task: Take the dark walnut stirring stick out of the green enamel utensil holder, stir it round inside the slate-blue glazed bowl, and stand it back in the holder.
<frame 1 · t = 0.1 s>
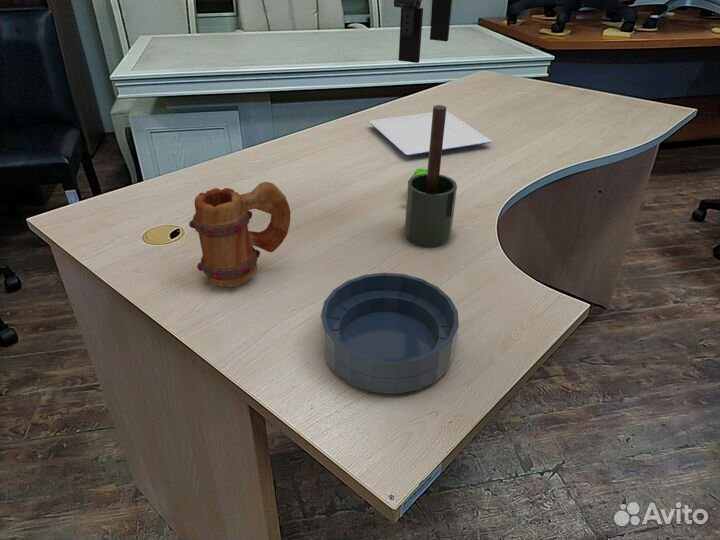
hand: (424, 50, 76), 31 cm above the table, tool pointing down, fingers open, 13 cm apart
plate: (427, 138, 130), on the table
holder: (427, 235, 93), on the table
bowl: (387, 347, 70), on the table
stick: (427, 231, 93), point 1 cm above the table, touching holder
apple: (421, 200, 104), on the table
mug: (248, 275, 83), on the table
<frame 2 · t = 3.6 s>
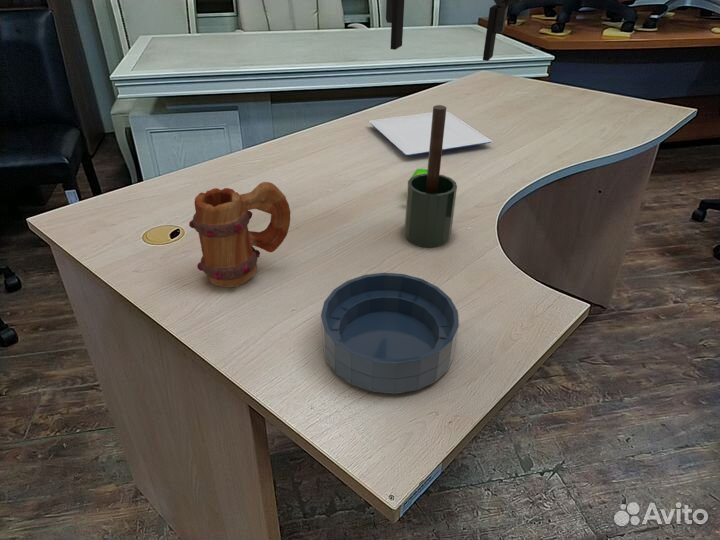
hand: (440, 53, 75), 31 cm above the table, tool pointing down, fingers open, 13 cm apart
nothing on the table moved.
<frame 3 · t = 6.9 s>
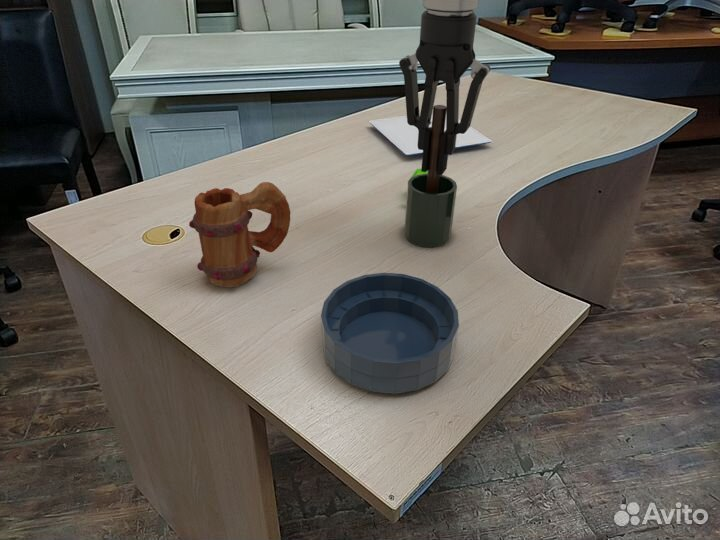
hand: (433, 169, 86), 13 cm above the table, tool pointing down, fingers closed on stick, 2 cm apart
stick: (428, 231, 92), point 1 cm above the table, touching gripper
everything else where it was.
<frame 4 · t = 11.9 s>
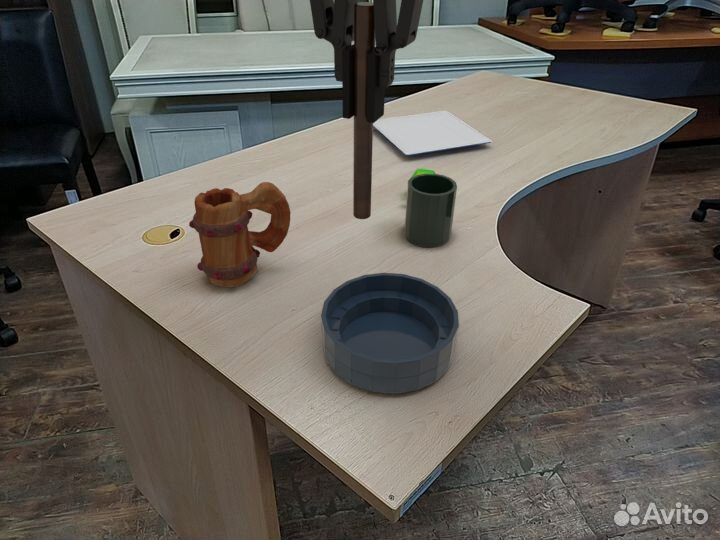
hand: (363, 115, 54), 31 cm above the table, tool pointing down, fingers closed on stick, 2 cm apart
stick: (361, 215, 61), point 19 cm above the table, touching gripper
everything else where it was.
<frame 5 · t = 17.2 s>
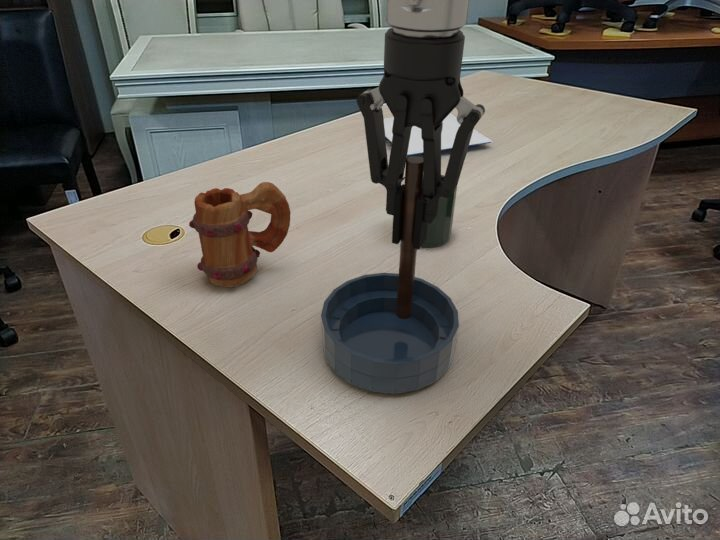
hand: (409, 240, 63), 15 cm above the table, tool pointing down, fingers closed on stick, 2 cm apart
stick: (403, 314, 70), point 4 cm above the table, touching gripper
everything else where it was.
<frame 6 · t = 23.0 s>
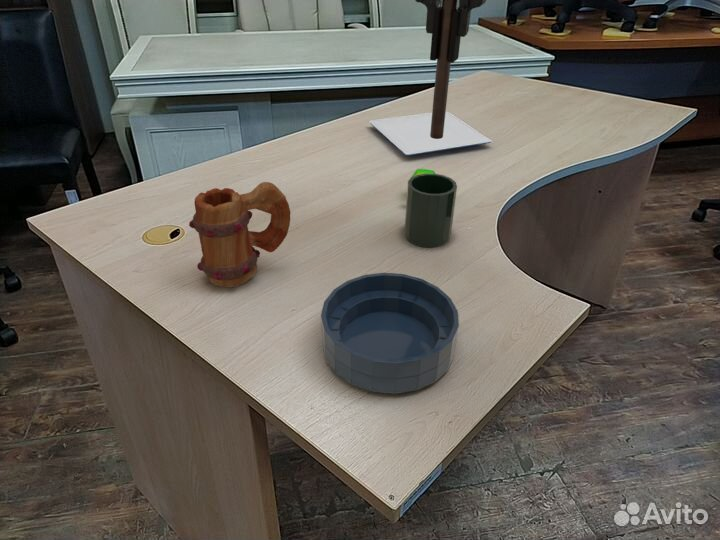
hand: (444, 58, 76), 30 cm above the table, tool pointing down, fingers closed on stick, 2 cm apart
stick: (436, 136, 82), point 18 cm above the table, touching gripper
everything else where it was.
when the fingers open (13 cm above the table, at t = 27.8 s): stick stays where it is, resting on holder.
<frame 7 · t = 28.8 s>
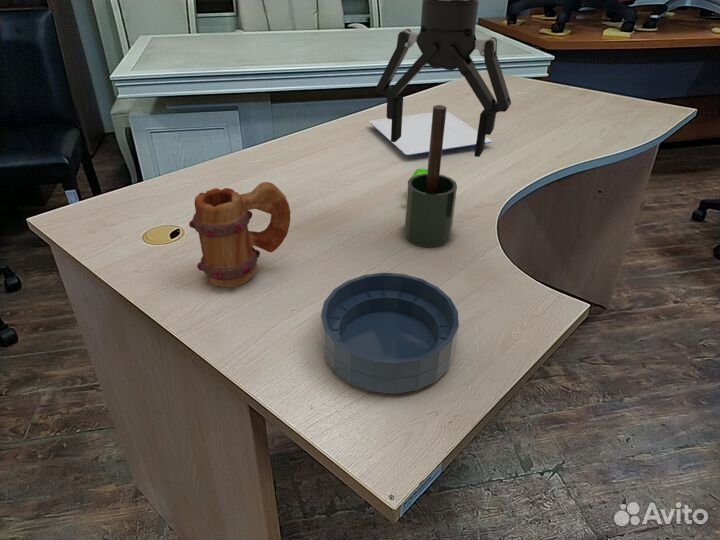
hand: (436, 146, 83), 17 cm above the table, tool pointing down, fingers open, 13 cm apart
stick: (427, 231, 93), point 1 cm above the table, touching holder
everything else where it was.
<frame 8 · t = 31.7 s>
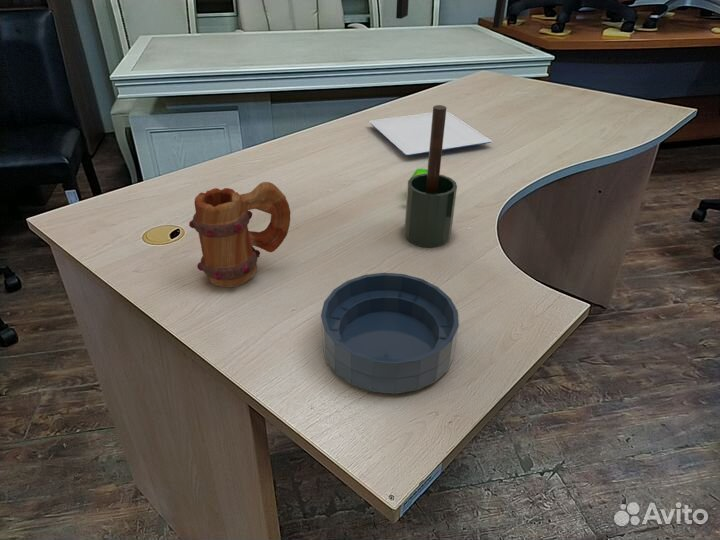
hand: (448, 21, 73), 35 cm above the table, tool pointing down, fingers open, 13 cm apart
nothing on the table moved.
at the end: stick 0.0 cm off-centre in the holder, point 0.8 cm above the holder's base; stick tilted 0°; stick touching holder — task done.
